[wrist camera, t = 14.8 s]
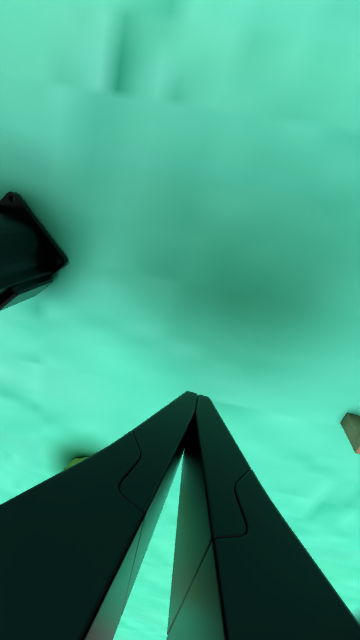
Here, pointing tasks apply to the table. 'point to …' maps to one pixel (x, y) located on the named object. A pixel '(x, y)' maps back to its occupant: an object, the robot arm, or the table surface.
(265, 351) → the table surface
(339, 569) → the table surface
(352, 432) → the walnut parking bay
